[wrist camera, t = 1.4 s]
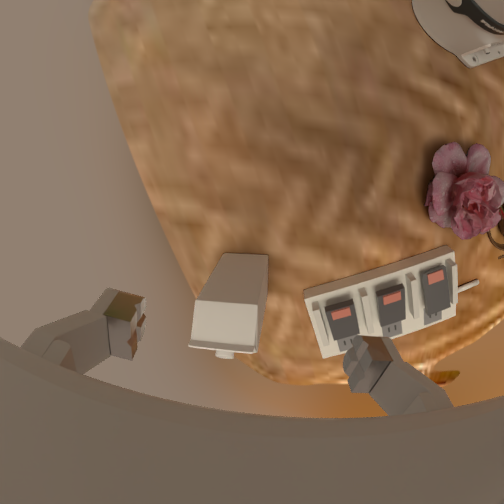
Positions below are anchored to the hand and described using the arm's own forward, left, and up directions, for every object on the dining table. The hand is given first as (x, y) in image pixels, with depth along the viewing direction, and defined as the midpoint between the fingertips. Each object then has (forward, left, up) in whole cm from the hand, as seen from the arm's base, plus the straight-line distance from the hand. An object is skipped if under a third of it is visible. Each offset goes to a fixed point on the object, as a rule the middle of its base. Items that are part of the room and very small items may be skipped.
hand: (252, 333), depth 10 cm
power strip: (-15, +23, -34) cm, 43 cm away
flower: (-27, +7, -34) cm, 44 cm away
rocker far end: (-3, +21, -30) cm, 36 cm away
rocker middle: (-11, +21, -30) cm, 38 cm away
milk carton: (+10, +11, -34) cm, 37 cm away
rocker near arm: (-19, +21, -30) cm, 41 cm away
